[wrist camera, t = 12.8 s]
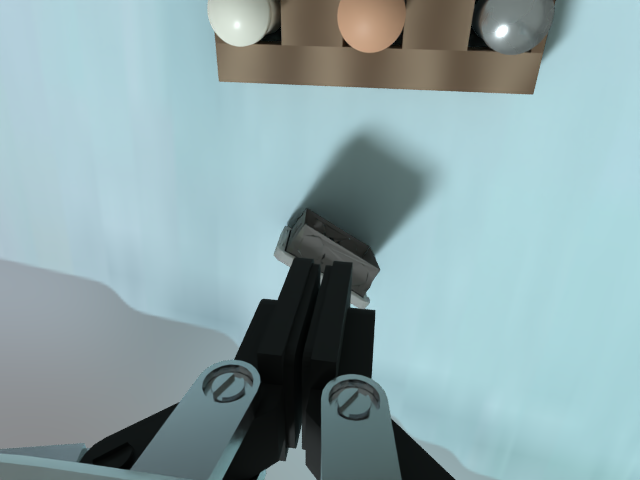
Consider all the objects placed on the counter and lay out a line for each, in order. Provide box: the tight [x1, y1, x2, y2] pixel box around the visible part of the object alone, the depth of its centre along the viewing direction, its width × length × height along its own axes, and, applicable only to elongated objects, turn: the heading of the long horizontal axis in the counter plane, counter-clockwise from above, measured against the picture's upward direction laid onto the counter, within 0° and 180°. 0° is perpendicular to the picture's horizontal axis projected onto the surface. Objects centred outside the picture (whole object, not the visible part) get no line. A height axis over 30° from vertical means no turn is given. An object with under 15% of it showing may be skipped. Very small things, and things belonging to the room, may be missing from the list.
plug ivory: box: [207, 0, 281, 47], centre depth 32 cm, size 4×4×7 cm
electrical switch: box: [274, 208, 380, 309], centre depth 41 cm, size 9×5×9 cm, turn 59°
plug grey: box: [472, 0, 554, 55], centre depth 30 cm, size 4×4×7 cm
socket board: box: [215, 0, 556, 94], centre depth 33 cm, size 24×10×4 cm, turn 89°
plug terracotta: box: [337, 0, 406, 53], centre depth 30 cm, size 4×4×7 cm
